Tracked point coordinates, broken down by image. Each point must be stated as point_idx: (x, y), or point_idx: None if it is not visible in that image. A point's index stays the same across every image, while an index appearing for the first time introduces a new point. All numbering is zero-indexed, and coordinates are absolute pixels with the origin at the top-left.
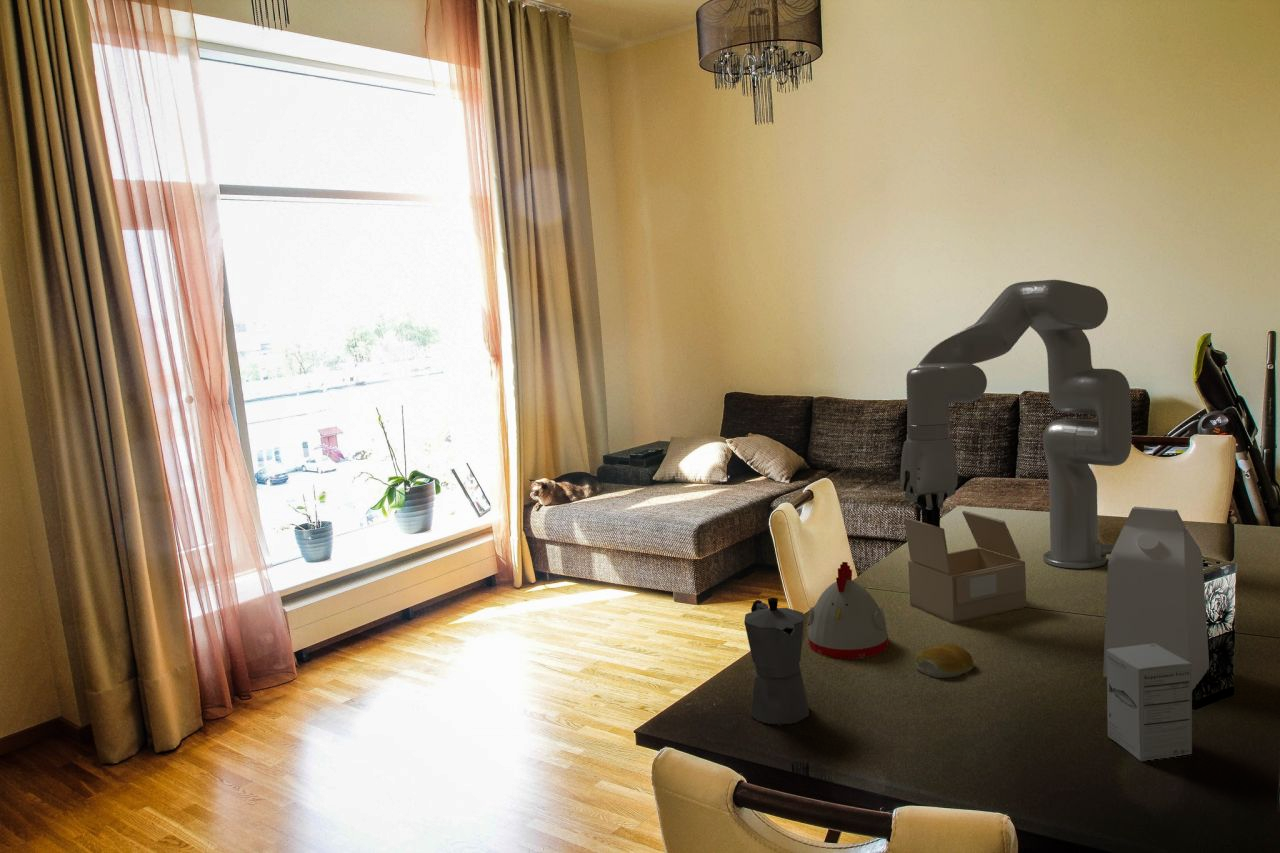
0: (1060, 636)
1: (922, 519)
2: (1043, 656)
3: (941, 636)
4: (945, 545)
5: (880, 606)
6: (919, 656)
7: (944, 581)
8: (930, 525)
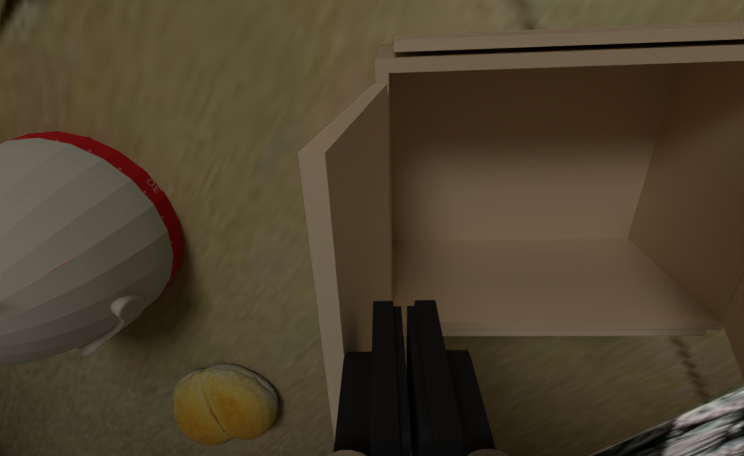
0: (513, 388)
1: (342, 381)
2: None
3: (311, 288)
4: None
5: (115, 313)
6: (173, 408)
7: None
8: None
